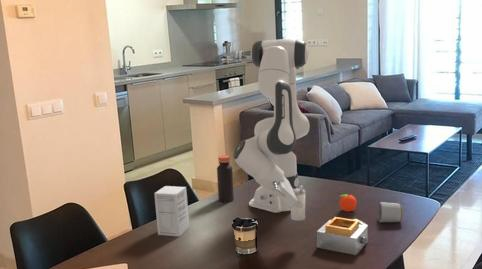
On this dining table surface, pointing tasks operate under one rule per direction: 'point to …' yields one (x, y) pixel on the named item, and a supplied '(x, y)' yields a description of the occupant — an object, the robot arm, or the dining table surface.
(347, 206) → the clementine
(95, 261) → the dining table surface
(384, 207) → the ceramic mug
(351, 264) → the dining table surface
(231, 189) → the bottle
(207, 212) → the dining table surface
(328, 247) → the block
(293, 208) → the spout can
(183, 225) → the supplement box
